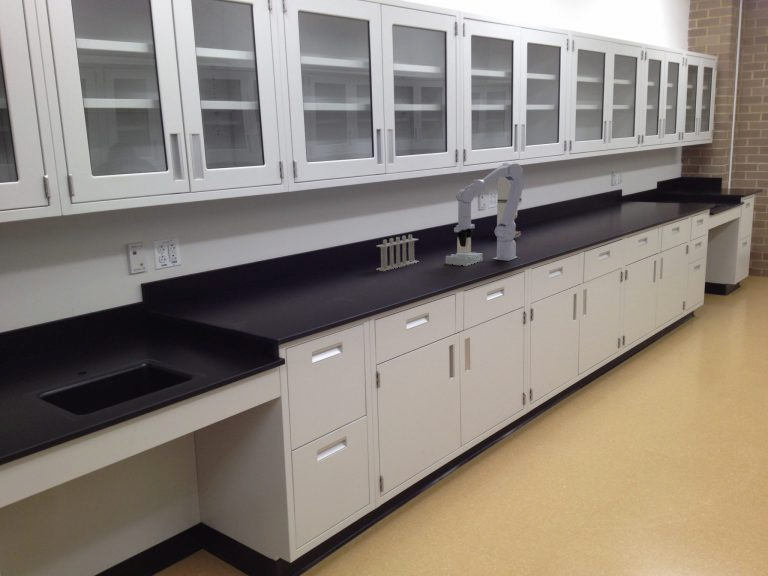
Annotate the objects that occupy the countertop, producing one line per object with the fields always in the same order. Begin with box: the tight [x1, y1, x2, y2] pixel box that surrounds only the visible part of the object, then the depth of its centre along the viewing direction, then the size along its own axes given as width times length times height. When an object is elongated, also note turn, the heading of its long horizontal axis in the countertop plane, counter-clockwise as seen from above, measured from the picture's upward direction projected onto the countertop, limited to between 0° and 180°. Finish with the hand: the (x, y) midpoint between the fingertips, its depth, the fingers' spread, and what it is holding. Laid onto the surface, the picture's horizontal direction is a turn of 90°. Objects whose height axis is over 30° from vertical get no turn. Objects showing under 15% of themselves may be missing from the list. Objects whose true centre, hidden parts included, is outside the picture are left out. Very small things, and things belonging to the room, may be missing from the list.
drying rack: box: [445, 251, 484, 267], centre depth 307 cm, size 14×11×4 cm
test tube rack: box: [375, 234, 420, 272], centre depth 301 cm, size 25×4×13 cm, turn 139°
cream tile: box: [456, 236, 472, 254], centre depth 306 cm, size 2×6×7 cm, turn 52°
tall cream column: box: [496, 177, 523, 239], centre depth 376 cm, size 11×11×35 cm
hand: (464, 246), depth 306 cm, fingers closed on cream tile, 2 cm apart
